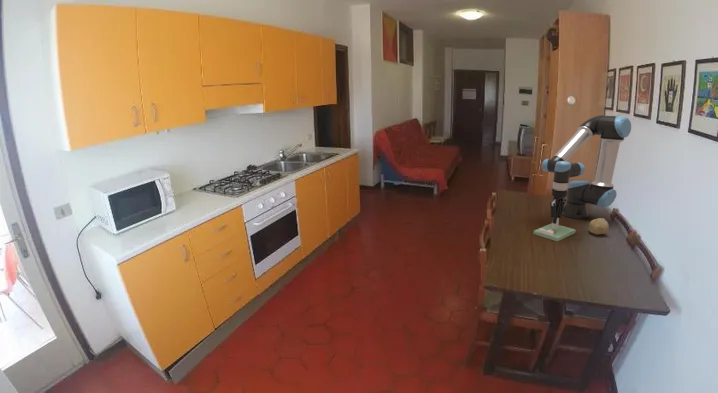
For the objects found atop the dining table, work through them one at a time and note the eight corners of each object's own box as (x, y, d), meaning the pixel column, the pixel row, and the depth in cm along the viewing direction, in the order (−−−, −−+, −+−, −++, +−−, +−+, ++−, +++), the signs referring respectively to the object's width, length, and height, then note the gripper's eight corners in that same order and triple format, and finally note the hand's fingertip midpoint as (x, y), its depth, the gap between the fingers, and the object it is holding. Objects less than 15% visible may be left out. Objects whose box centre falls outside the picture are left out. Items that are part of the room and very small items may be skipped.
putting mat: (551, 226, 223) (552, 219, 222) (575, 232, 212) (576, 226, 210) (533, 234, 212) (534, 227, 211) (557, 241, 201) (558, 234, 200)
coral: (617, 225, 203) (602, 219, 201) (606, 240, 206) (591, 234, 205) (606, 218, 211) (592, 212, 210) (596, 232, 215) (581, 226, 214)
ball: (548, 233, 212) (549, 227, 211) (554, 235, 209) (555, 229, 208) (545, 235, 210) (545, 229, 209) (551, 237, 207) (552, 231, 206)
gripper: (559, 185, 210) (554, 223, 217) (547, 189, 203) (542, 229, 210) (572, 188, 204) (567, 227, 211) (560, 192, 197) (555, 232, 204)
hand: (554, 228), depth 211 cm, fingers closed
